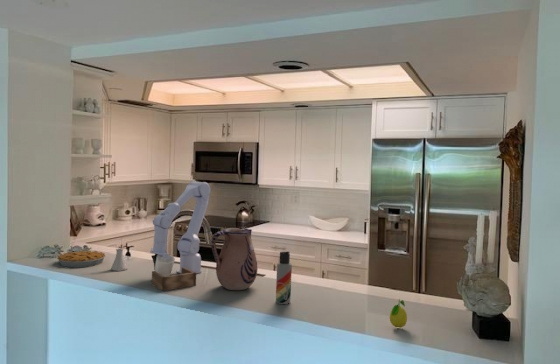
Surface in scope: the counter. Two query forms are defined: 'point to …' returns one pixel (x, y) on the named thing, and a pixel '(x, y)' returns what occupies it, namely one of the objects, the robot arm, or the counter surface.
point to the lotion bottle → (283, 279)
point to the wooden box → (174, 280)
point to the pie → (81, 258)
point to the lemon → (398, 315)
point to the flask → (119, 261)
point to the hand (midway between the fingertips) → (157, 271)
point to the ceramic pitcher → (235, 259)
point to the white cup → (164, 265)
